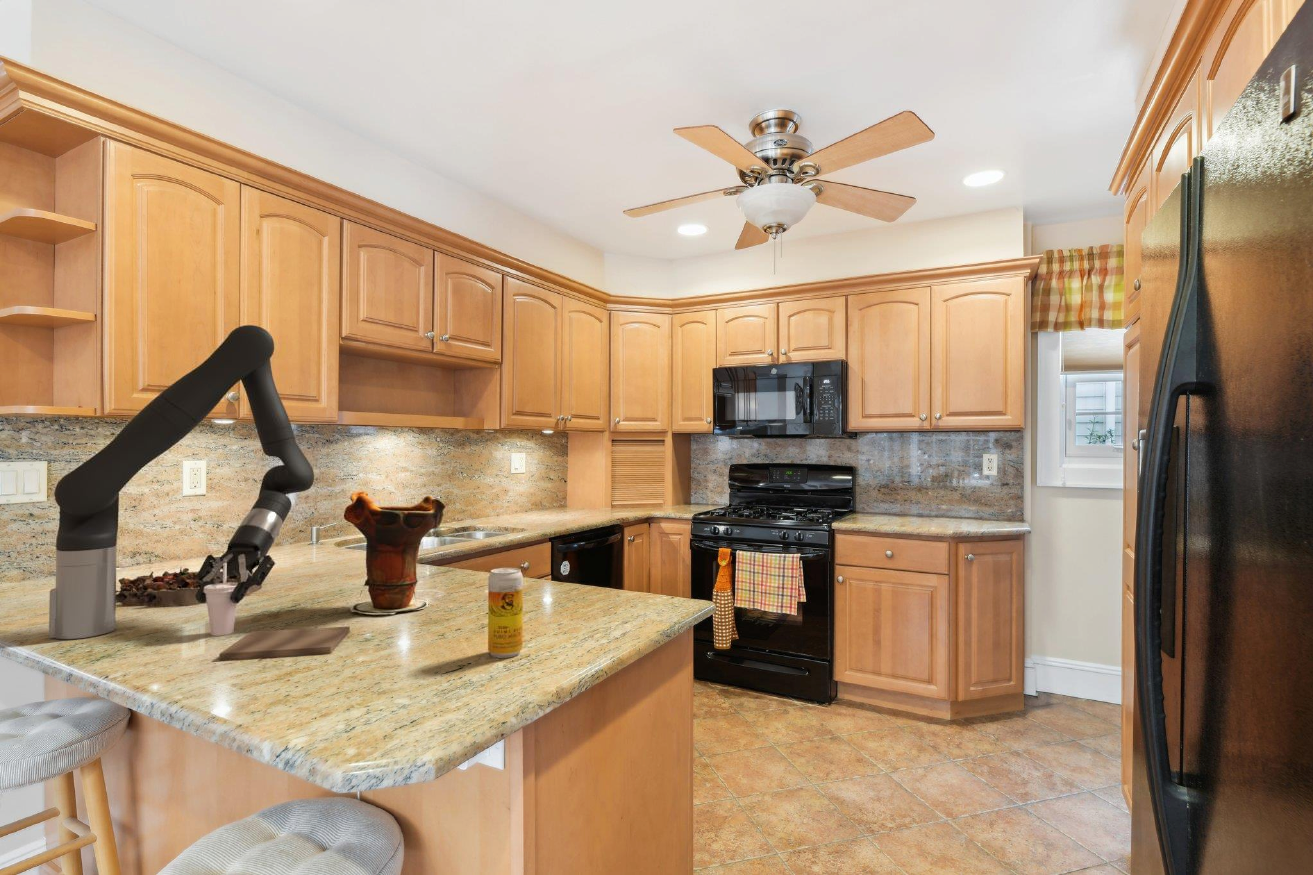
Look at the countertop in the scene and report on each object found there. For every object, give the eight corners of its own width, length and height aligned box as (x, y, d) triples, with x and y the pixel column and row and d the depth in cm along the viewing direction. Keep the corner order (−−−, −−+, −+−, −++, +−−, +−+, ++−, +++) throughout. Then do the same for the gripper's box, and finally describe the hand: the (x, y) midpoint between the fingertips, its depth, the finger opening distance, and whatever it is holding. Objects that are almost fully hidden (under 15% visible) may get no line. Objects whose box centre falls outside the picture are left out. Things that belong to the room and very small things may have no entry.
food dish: (92, 599, 167) (93, 569, 168) (238, 582, 193) (238, 555, 193) (123, 617, 145) (124, 581, 145) (284, 594, 170) (284, 564, 170)
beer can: (492, 660, 114) (492, 574, 114) (484, 651, 119) (484, 569, 119) (526, 655, 116) (526, 571, 117) (517, 646, 122) (517, 566, 122)
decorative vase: (458, 607, 153) (458, 490, 153) (356, 623, 138) (357, 494, 139) (425, 593, 168) (426, 487, 169) (331, 606, 154) (332, 490, 154)
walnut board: (219, 660, 114) (219, 653, 114) (251, 638, 128) (251, 631, 128) (330, 653, 118) (330, 646, 118) (349, 632, 132) (349, 626, 132)
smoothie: (248, 629, 134) (249, 561, 134) (225, 638, 128) (225, 566, 128) (219, 628, 135) (220, 560, 135) (194, 637, 128) (195, 566, 128)
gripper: (215, 523, 139) (171, 590, 127) (281, 523, 139) (242, 591, 127) (232, 544, 144) (191, 611, 132) (295, 544, 144) (260, 611, 132)
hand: (216, 600), depth 130 cm, fingers closed on smoothie, 6 cm apart
